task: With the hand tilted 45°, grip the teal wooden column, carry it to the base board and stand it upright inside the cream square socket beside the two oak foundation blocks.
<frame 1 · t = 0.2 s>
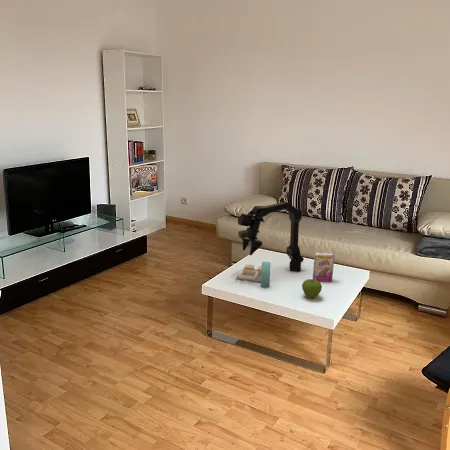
hand: (246, 252, 285), 15 cm above the table, tool tilted 15°, fingers open, 9 cm apart
base board: (253, 276, 290), on the table
apple: (311, 297, 263), on the table
teal column: (265, 286, 277), on the table
candy bar box: (322, 280, 286), on the table
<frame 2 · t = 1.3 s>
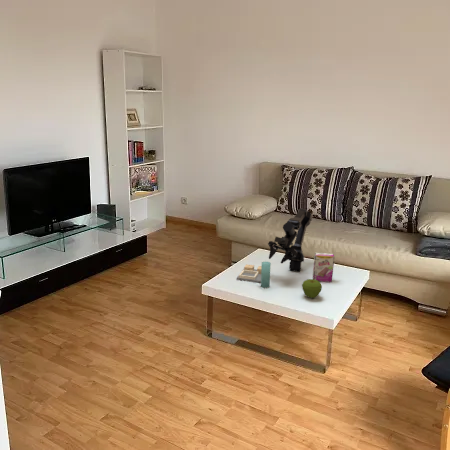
hand: (275, 260, 278), 13 cm above the table, tool tilted 45°, fingers open, 9 cm apart
nothing on the table moved.
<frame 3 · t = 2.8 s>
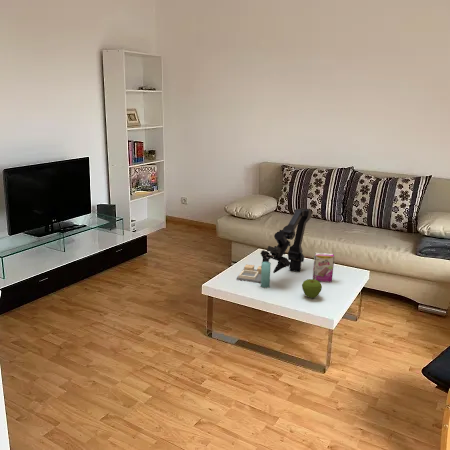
hand: (267, 270, 275), 9 cm above the table, tool tilted 45°, fingers open, 9 cm apart
nothing on the table moved.
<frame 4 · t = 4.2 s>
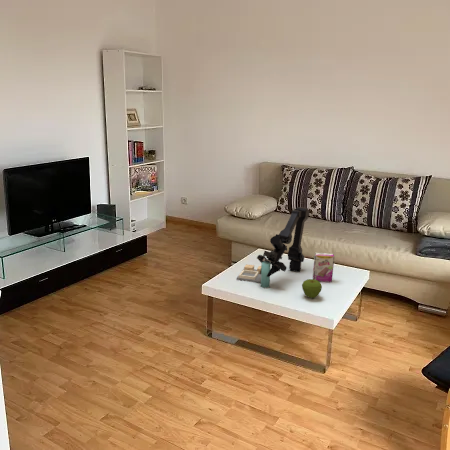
hand: (263, 275, 274), 7 cm above the table, tool tilted 45°, fingers closed on teal column, 5 cm apart
teal column: (265, 286, 277), on the table, touching gripper
everything else where it was.
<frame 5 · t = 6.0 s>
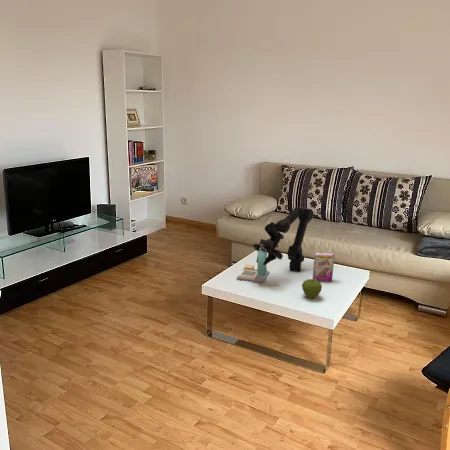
hand: (260, 263, 275), 13 cm above the table, tool tilted 45°, fingers closed on teal column, 5 cm apart
teal column: (261, 274, 278), point 6 cm above the table, touching gripper
everything else where it was.
when the fingers open (9 cm above the table, at t = 8.1 s): teal column drops 1 cm, resting on base board.
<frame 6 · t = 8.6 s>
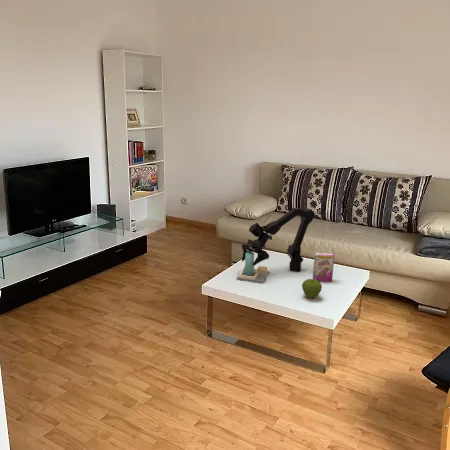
hand: (247, 263, 285), 10 cm above the table, tool tilted 45°, fingers open, 9 cm apart
teal column: (249, 275, 288), point 1 cm above the table, touching base board
everything else where it was.
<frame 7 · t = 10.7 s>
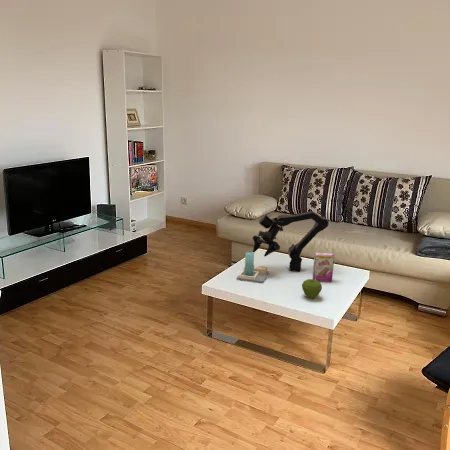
hand: (258, 254, 290), 13 cm above the table, tool tilted 45°, fingers open, 9 cm apart
nothing on the table moved.
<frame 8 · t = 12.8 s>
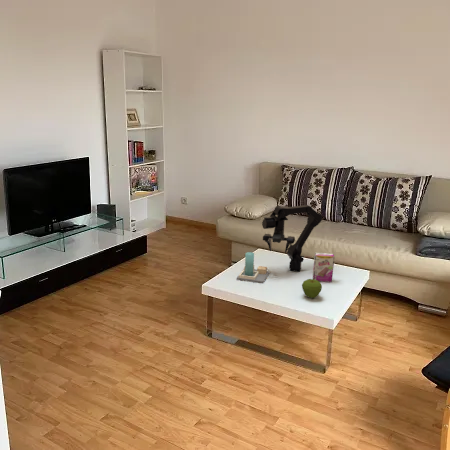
hand: (278, 252, 294), 13 cm above the table, tool pointing down, fingers open, 9 cm apart
nothing on the table moved.
at the end: teal column 0.1 cm from the target spot on the base board, point 1.2 cm above the base board's base; teal column tilted 0°; the gripper is holding nothing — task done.
